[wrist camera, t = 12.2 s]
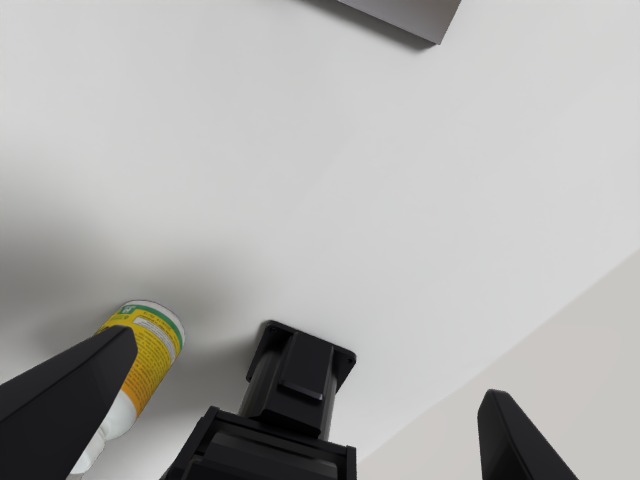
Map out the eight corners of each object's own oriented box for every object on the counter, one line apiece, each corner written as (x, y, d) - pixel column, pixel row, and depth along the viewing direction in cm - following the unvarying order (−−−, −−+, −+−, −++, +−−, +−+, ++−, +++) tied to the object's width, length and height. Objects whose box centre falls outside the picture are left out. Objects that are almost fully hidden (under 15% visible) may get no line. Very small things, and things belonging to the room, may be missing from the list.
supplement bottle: (164, 361, 29) (76, 491, 21) (107, 320, 28) (-11, 442, 20) (201, 331, 27) (118, 465, 19) (141, 284, 26) (23, 406, 17)
